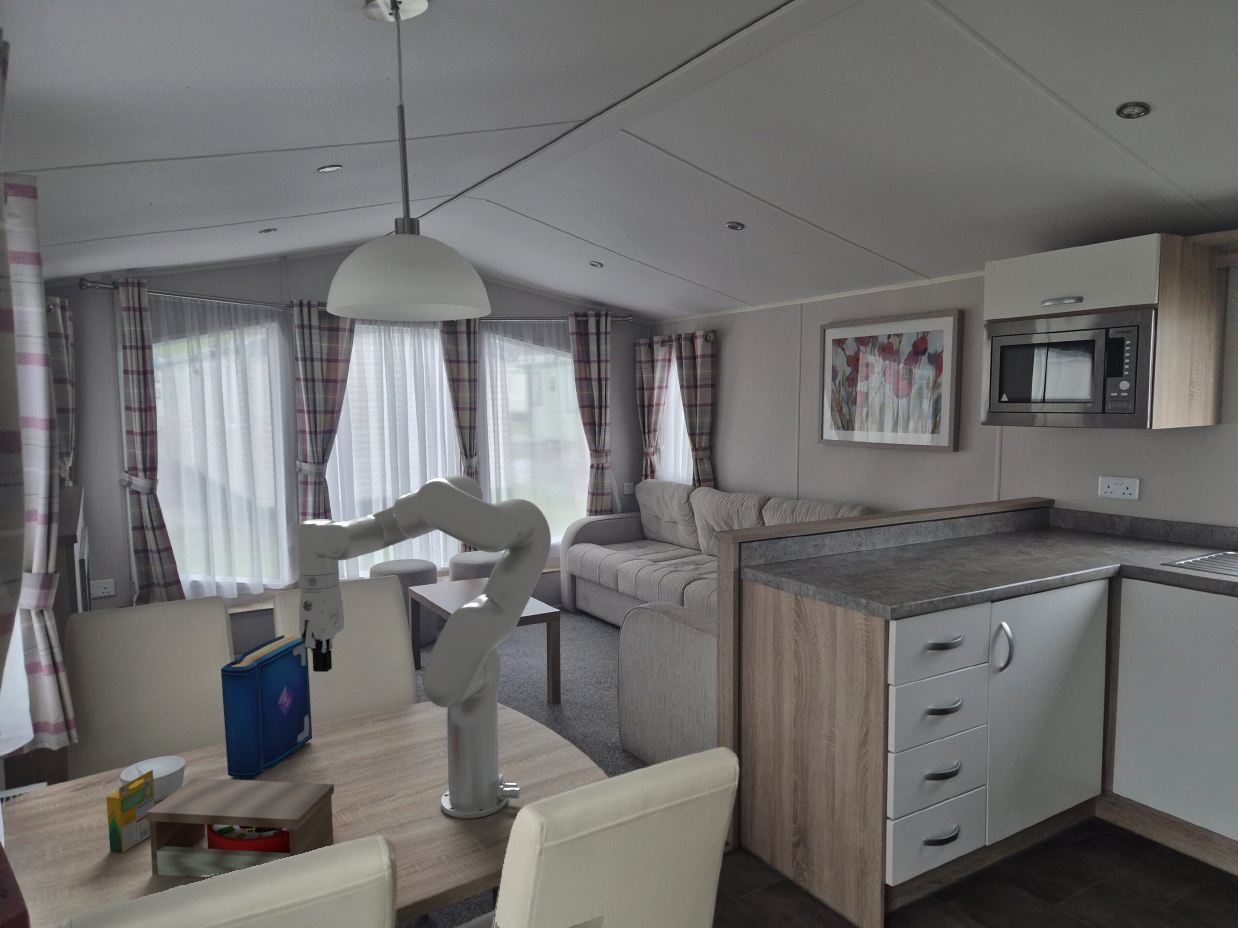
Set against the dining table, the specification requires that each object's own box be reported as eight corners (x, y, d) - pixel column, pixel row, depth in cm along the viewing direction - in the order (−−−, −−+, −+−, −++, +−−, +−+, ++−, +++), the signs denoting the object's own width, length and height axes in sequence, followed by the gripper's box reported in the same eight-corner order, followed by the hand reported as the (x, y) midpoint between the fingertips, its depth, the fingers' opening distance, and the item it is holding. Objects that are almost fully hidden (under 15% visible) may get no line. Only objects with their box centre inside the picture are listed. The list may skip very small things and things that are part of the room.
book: (251, 784, 158) (246, 664, 157) (221, 782, 160) (215, 662, 158) (313, 741, 179) (309, 634, 178) (286, 739, 181) (282, 633, 179)
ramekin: (107, 804, 151) (105, 777, 151) (153, 778, 162) (152, 753, 162) (155, 809, 149) (154, 783, 148) (199, 782, 159) (198, 757, 159)
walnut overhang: (335, 842, 136) (333, 783, 136) (300, 883, 124) (297, 819, 124) (197, 834, 139) (194, 777, 139) (149, 874, 127) (146, 811, 127)
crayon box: (143, 829, 141) (140, 767, 141) (157, 831, 141) (154, 768, 140) (108, 851, 134) (105, 786, 133) (122, 853, 133) (119, 787, 133)
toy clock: (312, 773, 151) (347, 814, 135) (313, 802, 151) (348, 846, 135) (196, 806, 138) (220, 855, 123) (198, 837, 139) (221, 890, 123)
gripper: (318, 589, 149) (321, 683, 150) (353, 573, 164) (356, 659, 165) (281, 588, 150) (285, 682, 151) (320, 573, 165) (323, 658, 166)
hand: (322, 670), depth 158 cm, fingers closed
